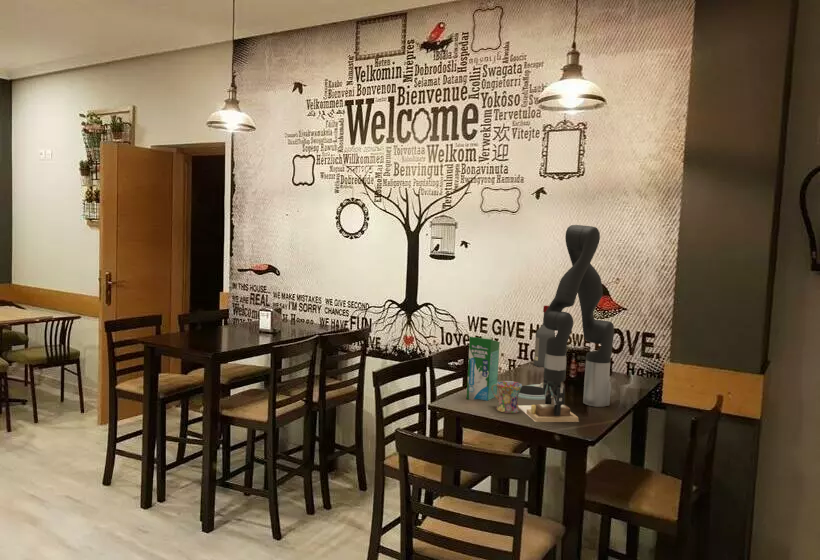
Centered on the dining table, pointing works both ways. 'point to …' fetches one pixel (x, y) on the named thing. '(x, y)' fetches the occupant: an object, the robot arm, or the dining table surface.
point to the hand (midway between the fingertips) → (552, 411)
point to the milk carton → (482, 368)
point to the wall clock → (532, 392)
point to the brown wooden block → (551, 410)
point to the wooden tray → (531, 412)
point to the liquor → (542, 343)
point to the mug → (508, 396)
